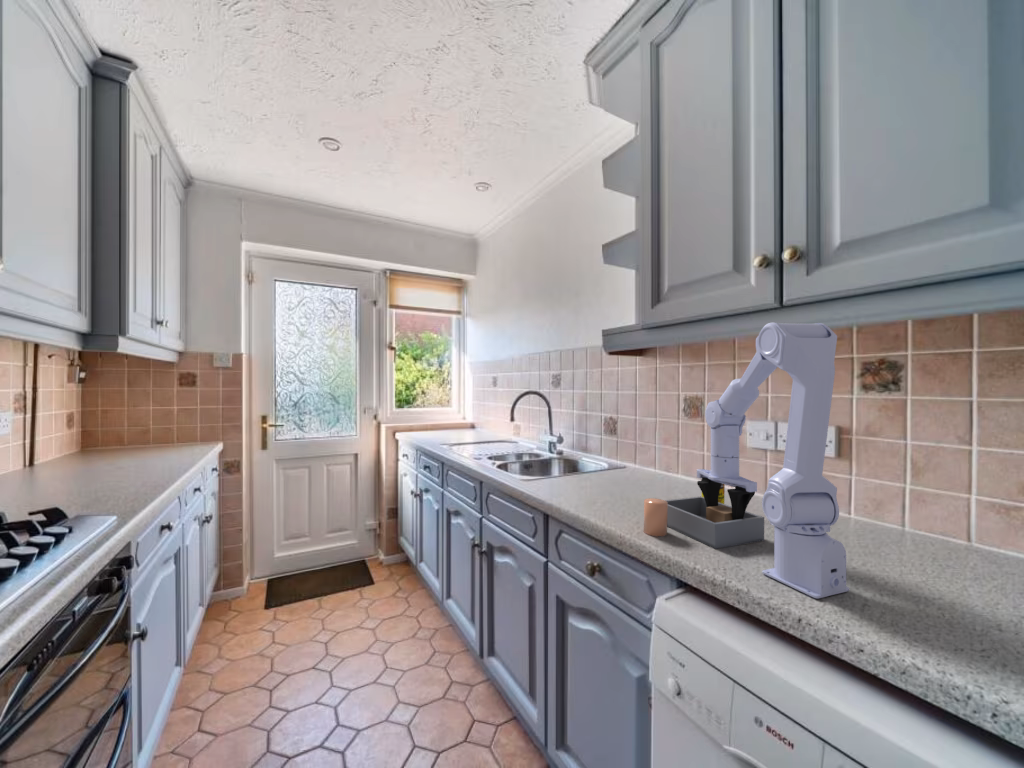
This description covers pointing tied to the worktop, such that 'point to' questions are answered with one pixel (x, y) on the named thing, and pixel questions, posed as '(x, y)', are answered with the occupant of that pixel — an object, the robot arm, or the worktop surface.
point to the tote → (712, 524)
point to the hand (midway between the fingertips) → (724, 516)
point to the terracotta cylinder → (655, 517)
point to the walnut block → (719, 513)
